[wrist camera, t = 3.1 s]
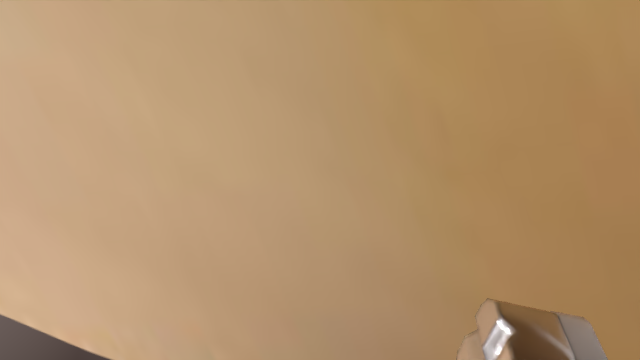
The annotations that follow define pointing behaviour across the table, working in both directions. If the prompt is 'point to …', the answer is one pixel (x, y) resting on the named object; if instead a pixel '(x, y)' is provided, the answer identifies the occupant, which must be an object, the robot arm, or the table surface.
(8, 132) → the table surface
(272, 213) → the table surface
